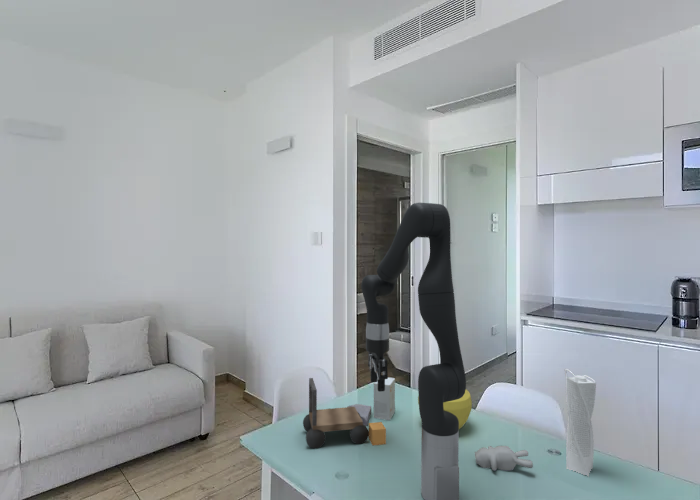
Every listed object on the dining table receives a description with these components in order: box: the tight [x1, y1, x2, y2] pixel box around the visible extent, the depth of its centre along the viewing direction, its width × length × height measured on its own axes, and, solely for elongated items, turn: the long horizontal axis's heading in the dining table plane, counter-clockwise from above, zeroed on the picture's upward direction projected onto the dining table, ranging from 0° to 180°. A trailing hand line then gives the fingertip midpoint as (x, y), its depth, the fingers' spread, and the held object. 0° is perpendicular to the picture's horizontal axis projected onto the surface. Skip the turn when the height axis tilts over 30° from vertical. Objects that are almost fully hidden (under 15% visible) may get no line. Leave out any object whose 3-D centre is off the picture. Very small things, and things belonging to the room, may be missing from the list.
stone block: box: [347, 403, 372, 427], centre depth 144 cm, size 12×5×10 cm
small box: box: [373, 377, 396, 421], centre depth 147 cm, size 8×6×13 cm
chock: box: [368, 421, 387, 446], centre depth 127 cm, size 5×4×5 cm
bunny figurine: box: [474, 445, 534, 471], centre depth 113 cm, size 10×5×15 cm
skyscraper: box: [564, 368, 597, 478], centre depth 112 cm, size 8×8×28 cm
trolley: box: [302, 377, 369, 449], centre depth 129 cm, size 20×12×18 cm, turn 102°
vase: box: [417, 388, 473, 430], centre depth 137 cm, size 18×18×30 cm
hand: (377, 386), depth 127 cm, fingers open, 8 cm apart
